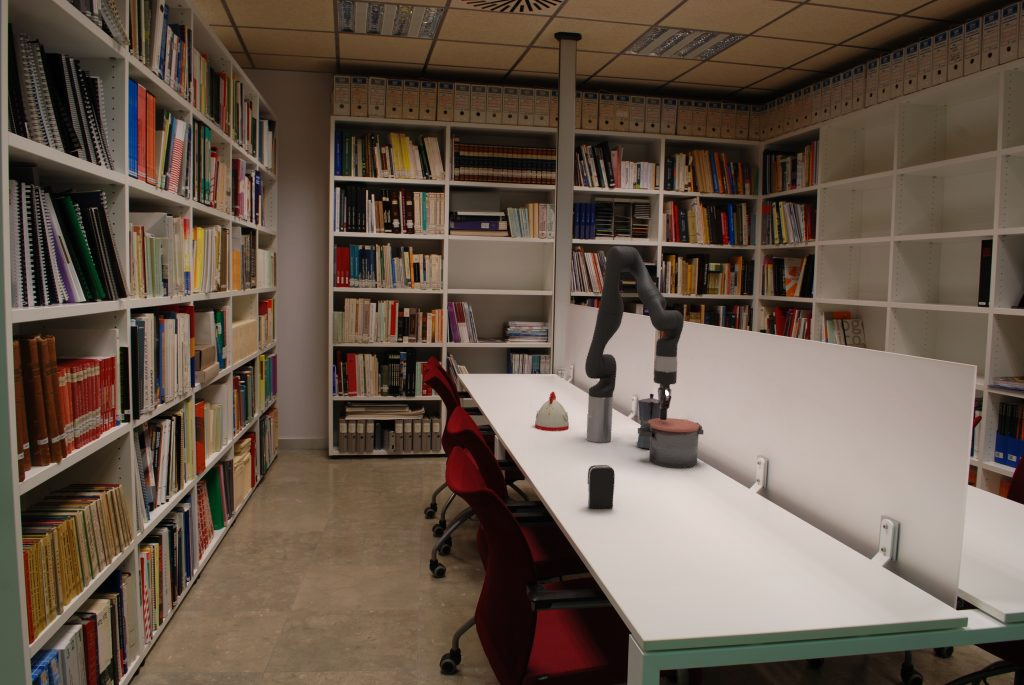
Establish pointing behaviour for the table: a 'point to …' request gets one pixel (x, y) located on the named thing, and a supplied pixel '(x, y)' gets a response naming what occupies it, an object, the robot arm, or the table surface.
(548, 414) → the kitchen timer
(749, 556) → the table surface
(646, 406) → the moka pot
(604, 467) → the battery charger
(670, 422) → the lid
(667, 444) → the cooker pot
